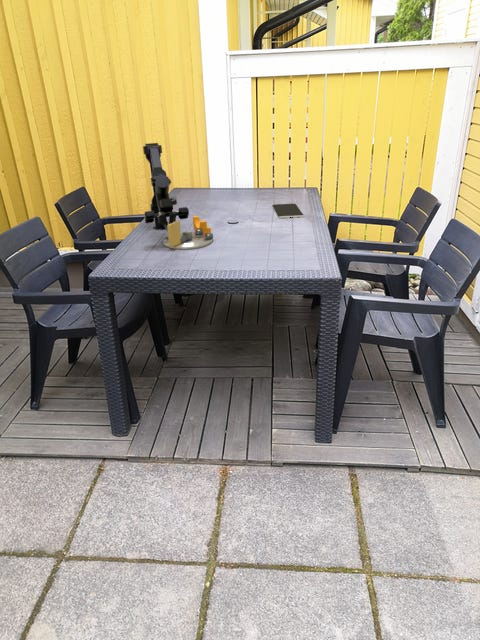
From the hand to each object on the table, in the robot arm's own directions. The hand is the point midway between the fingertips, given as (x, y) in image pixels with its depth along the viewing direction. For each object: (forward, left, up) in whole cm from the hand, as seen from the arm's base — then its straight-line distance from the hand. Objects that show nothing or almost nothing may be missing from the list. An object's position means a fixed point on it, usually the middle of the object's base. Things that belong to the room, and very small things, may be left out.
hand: (170, 232), depth 204 cm
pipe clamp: (-27, +3, -8) cm, 28 cm away
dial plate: (-10, +3, -7) cm, 13 cm away
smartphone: (-71, +35, -8) cm, 80 cm away
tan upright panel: (-5, +2, -6) cm, 8 cm away
